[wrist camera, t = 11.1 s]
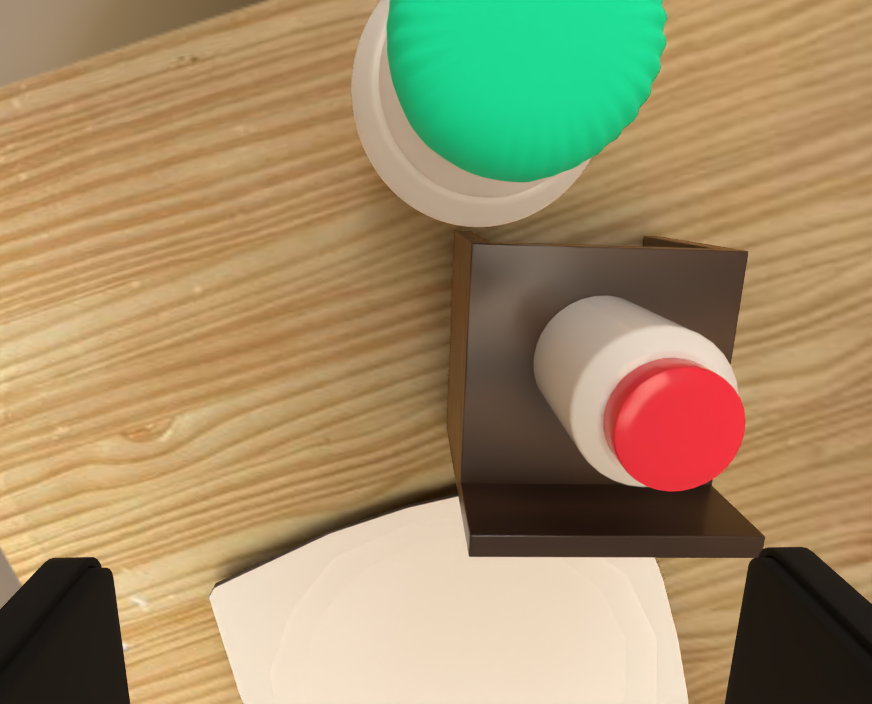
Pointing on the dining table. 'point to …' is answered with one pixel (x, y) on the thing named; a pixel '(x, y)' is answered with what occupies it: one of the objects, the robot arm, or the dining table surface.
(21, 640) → the robot arm
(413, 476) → the dining table surface
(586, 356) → the pill bottle
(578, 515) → the wooden block chair
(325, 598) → the plate
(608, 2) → the water bottle
